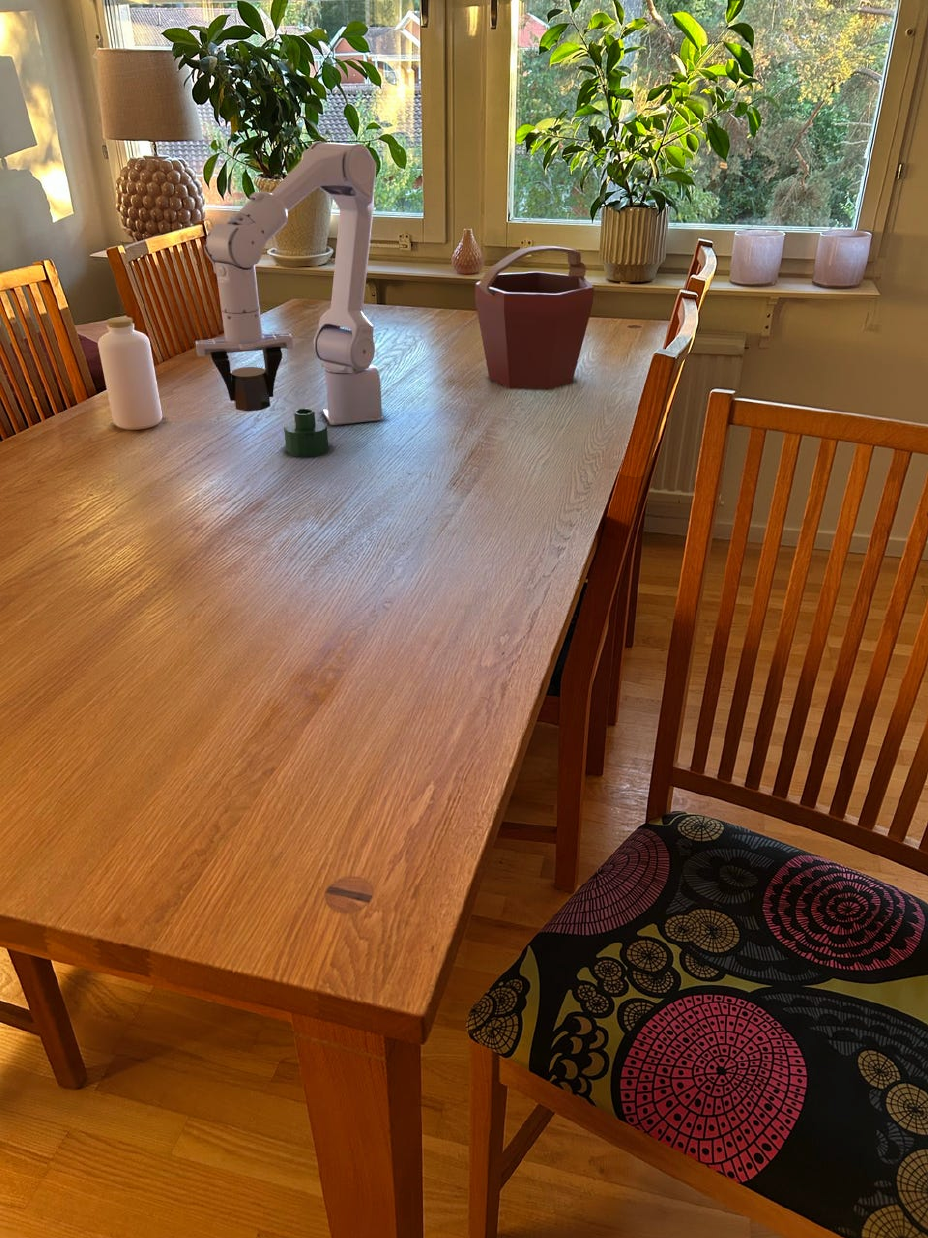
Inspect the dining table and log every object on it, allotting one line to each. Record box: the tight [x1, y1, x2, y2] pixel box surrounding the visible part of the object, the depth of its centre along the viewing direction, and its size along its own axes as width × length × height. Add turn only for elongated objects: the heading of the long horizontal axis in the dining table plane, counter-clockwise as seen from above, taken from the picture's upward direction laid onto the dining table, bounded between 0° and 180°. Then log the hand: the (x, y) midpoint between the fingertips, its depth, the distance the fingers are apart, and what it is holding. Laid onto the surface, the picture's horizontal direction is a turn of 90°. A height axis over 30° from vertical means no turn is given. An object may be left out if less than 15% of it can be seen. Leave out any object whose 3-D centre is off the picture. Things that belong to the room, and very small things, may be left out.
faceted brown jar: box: [231, 366, 271, 413], centre depth 147 cm, size 5×5×6 cm
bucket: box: [474, 245, 595, 391], centre depth 182 cm, size 24×22×25 cm
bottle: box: [283, 407, 329, 458], centre depth 151 cm, size 7×7×6 cm
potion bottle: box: [97, 316, 163, 431], centre depth 159 cm, size 8×8×18 cm
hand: (251, 397), depth 147 cm, fingers closed on faceted brown jar, 5 cm apart
